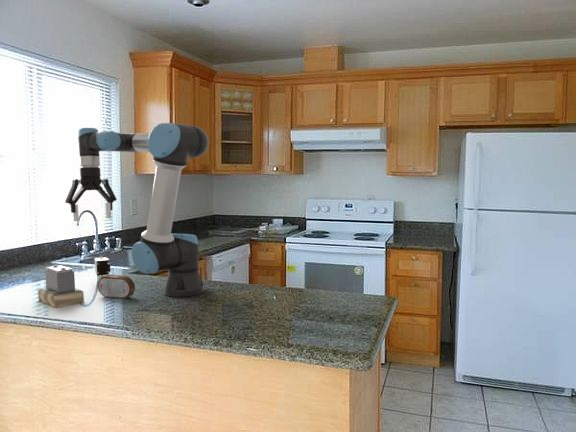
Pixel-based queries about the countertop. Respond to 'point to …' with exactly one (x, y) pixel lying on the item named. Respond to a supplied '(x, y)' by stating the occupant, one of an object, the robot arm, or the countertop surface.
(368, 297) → the countertop surface
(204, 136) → the robot arm
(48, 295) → the stand
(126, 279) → the tin
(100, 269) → the pneumatic valve
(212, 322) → the countertop surface
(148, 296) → the countertop surface
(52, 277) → the housing
